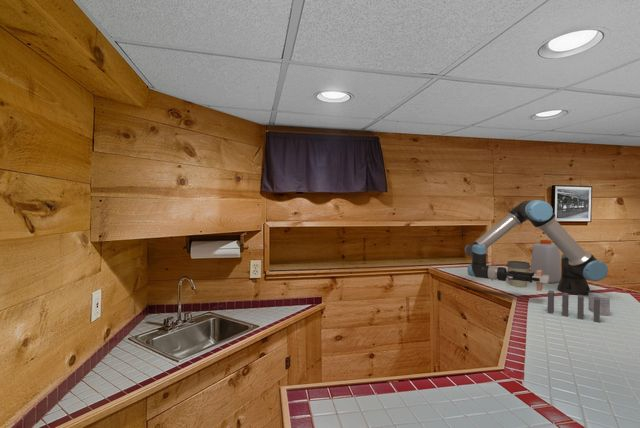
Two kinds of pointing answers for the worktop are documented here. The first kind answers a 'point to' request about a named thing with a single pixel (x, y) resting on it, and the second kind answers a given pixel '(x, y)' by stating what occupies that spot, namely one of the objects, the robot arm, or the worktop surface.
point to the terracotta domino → (539, 284)
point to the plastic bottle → (546, 260)
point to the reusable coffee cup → (518, 267)
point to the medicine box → (603, 303)
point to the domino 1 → (550, 302)
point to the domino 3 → (580, 307)
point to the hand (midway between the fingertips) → (548, 279)
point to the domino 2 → (565, 304)
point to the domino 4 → (596, 309)
